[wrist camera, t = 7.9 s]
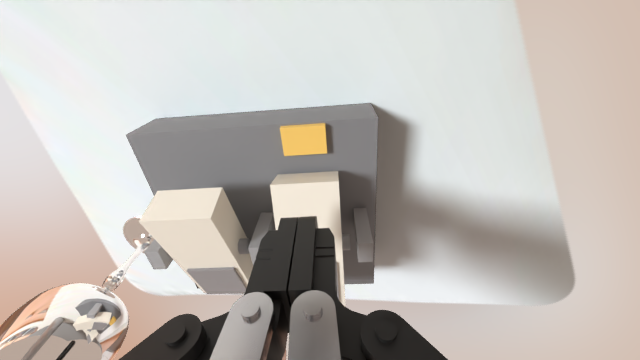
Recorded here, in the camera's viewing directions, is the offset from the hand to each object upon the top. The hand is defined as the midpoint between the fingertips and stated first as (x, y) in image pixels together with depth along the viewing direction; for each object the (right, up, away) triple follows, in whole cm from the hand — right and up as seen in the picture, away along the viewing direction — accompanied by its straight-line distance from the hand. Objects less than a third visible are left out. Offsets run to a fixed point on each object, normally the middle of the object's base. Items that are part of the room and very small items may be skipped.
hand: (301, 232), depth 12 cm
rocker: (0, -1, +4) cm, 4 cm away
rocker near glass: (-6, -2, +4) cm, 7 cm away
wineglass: (-14, -2, +12) cm, 18 cm away
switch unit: (-2, +1, +9) cm, 9 cm away
